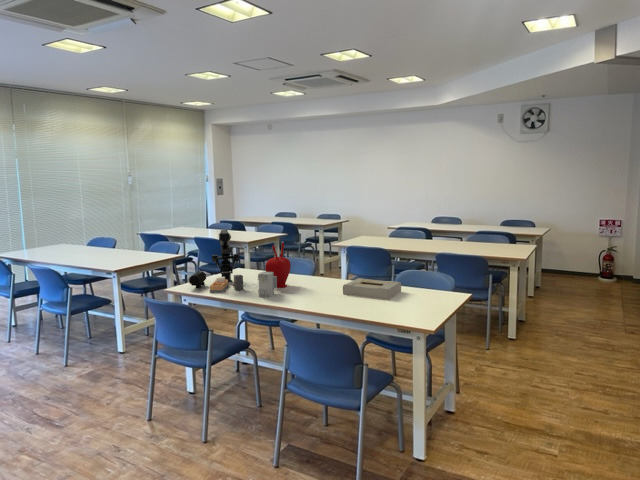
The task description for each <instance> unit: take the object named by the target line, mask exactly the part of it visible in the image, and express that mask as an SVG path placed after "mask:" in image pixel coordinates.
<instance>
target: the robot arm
mask: <svg viewBox="0 0 640 480" xmlns="http://www.w3.org/2000/svg"><path fill="white" fill-rule="evenodd" d="M231 239H232V235H231V234H230V233H229V230H228V229H221V230H220V233H218V241H219V244H220V251H221V252H220V254H221V256H219V255H218V254H213V255H211V261H212V262H214V263H215V264H216V265H217V268H218V270H220V271H219V272H220V273H219V274H220V275H221V276H220V277H225V280H228V283H230V282H233V280H232V278H231V277H232V275H231V274H233V272H234V271H233V269H234V268H235V264H236V263H237V262H238V261H240V254H239V253H233V248H232V247H230V241H231ZM231 253H233V255H231ZM220 260H221V263H220V262H219V261H220ZM230 260H232V263H231V261H230ZM231 264H232V265H231Z"/></svg>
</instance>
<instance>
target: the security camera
mask: <svg viewBox="0 0 640 480" xmlns="http://www.w3.org/2000/svg"><path fill="white" fill-rule="evenodd" d="M206 280H207V274H206V273H205V272H204V271H197V272H195V273H194V274H192V275H191V276H190V277H189V278H188V281H189V283H188V284H190V286H194V287H195V289H200V288H201V287H202V286H205V285H206V283H205V281H206Z"/></svg>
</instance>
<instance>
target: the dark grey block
mask: <svg viewBox="0 0 640 480" xmlns="http://www.w3.org/2000/svg"><path fill="white" fill-rule="evenodd" d="M233 290H234V291H235V292H238V291H244V275H242V274H234V275H233Z"/></svg>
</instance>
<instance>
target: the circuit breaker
mask: <svg viewBox="0 0 640 480" xmlns="http://www.w3.org/2000/svg"><path fill="white" fill-rule="evenodd" d="M257 281H258V289H257V290H258V291H257V293H258V297H259V298H270V297H272V296H274V295H275V290H276V289H278V288H277V276H274V272H266V271H261V272H259V273H258V274H257Z"/></svg>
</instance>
